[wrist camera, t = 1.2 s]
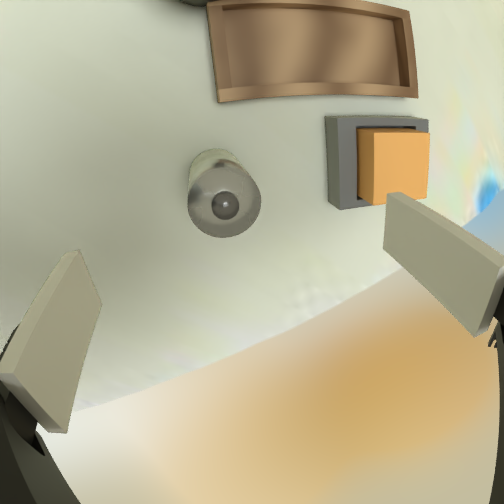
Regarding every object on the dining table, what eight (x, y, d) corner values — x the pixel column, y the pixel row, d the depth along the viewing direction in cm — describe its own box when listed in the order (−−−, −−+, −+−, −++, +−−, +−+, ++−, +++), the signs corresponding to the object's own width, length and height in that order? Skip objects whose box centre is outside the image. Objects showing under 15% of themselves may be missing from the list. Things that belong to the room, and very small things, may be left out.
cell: (194, 203, 26) (195, 247, 18) (185, 153, 24) (180, 177, 16) (244, 194, 26) (266, 234, 19) (238, 145, 24) (259, 164, 17)
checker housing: (328, 201, 28) (339, 210, 26) (324, 116, 24) (337, 118, 22) (410, 190, 29) (424, 198, 27) (412, 116, 25) (428, 119, 23)
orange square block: (355, 193, 26) (373, 205, 23) (354, 128, 23) (373, 132, 21) (406, 187, 27) (426, 198, 24) (408, 128, 24) (429, 133, 21)
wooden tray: (217, 102, 22) (220, 102, 20) (205, 4, 18) (207, -5, 16) (404, 97, 24) (418, 98, 22) (395, 14, 20) (409, 11, 18)
